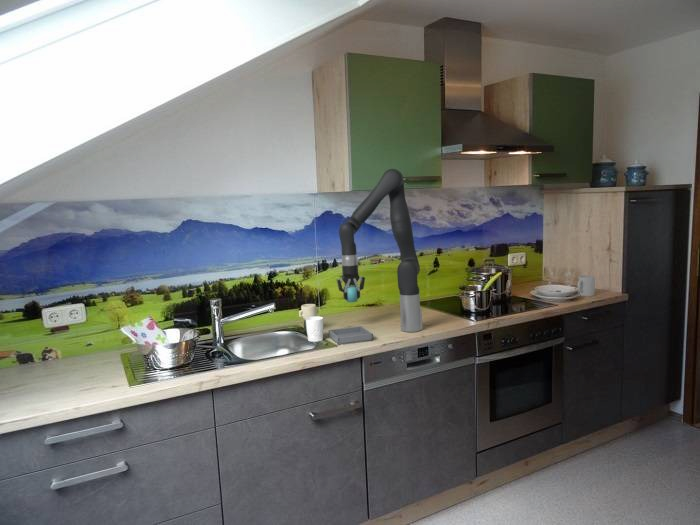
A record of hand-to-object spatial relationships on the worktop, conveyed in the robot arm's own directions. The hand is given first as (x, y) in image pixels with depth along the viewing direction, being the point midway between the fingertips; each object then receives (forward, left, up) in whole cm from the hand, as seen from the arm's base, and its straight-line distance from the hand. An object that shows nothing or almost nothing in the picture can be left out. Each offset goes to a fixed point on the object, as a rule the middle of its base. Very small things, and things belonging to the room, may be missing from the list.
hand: (352, 299), depth 242 cm
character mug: (+20, -6, -15) cm, 26 cm away
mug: (-146, -12, -15) cm, 147 cm away
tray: (+6, +15, -15) cm, 22 cm away
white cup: (+21, +10, -15) cm, 28 cm away
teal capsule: (0, 0, -1) cm, 1 cm away
